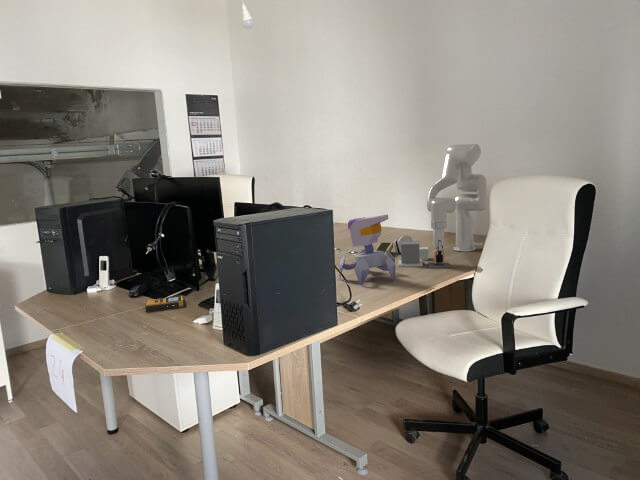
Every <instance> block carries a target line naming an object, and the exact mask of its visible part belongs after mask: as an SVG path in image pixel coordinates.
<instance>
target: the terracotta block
mask: <svg viewBox="0 0 640 480" xmlns="http://www.w3.org/2000/svg"><path fill="white" fill-rule="evenodd" d="M432 251H433V253H432V254H433V256H432V257H433V258H432V259H433V261H432V262H434V263H437V262H436V255H437V249H436V248H435V249H434V248H433V250H432ZM442 254H443V262H442V263H445V262H446V260H445V255H446V254H445V249H444V248H443V249H442Z"/></svg>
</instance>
